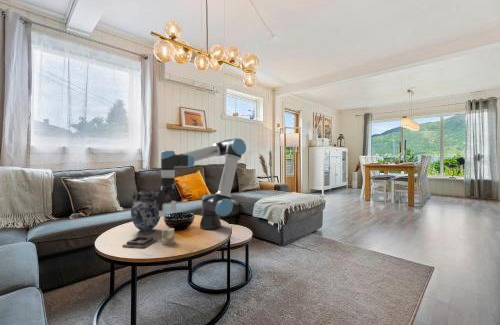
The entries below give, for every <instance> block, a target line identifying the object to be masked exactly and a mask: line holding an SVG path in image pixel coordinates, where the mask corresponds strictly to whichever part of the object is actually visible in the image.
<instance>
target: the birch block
mask: <svg viewBox="0 0 500 325" xmlns="http://www.w3.org/2000/svg"><path fill="white" fill-rule="evenodd" d="M173 243H175V228H173V227H166V228H164V229H161V244H162V245H165V246H167V245H168V246H170V245H172V244H173Z"/></svg>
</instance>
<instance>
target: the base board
mask: <svg viewBox="0 0 500 325" xmlns="http://www.w3.org/2000/svg"><path fill="white" fill-rule="evenodd" d="M157 241H158V239H157V238H154V237H152V236H151V237H150V236H136V237H134V238H132V239H129V240H127V241H126V243H124V244H123V245H122V248H132V249H145V248H147V247H149V246H151V245H152V244H155V243H156V242H157Z"/></svg>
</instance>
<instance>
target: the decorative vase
mask: <svg viewBox="0 0 500 325" xmlns="http://www.w3.org/2000/svg"><path fill="white" fill-rule="evenodd" d="M158 194H159V191H158V192H154V191H153V190H150V189H149V190H140V191H139V192H137V191H135V190H134V191H132V192H131V198H133V200H134V201H133V203H132V206H131V209H130V217H131V220H132V224H133V225H134V226H135V228H137V229H138V231H137V234H138V235H139V234H140V235H147V234H148V235H149V234H153V233H154V232H155V230H154V228H156V226H157V225H158V224H159V221H160V219H161V216H159V205H157V204H156V202H157V198H158Z"/></svg>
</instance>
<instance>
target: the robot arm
mask: <svg viewBox="0 0 500 325" xmlns="http://www.w3.org/2000/svg"><path fill="white" fill-rule="evenodd" d="M246 151H247V144H246V143H245V141H244V140H243V139H242V138H240V137H239V138H237V137H235V138H230V139H224V140H222V141H220V142H215V143H213V144H212V145H210V146H207V147H202V148H198V149H194V150H191V151H190V150H189V151H187V152H182V153H179V154H176V152H175V151H174V150H162V151H161V155H160V164H161V165H160V177H161V178H160V183H161V185H162V186H159V191H158V192H159V194H158V198H157V202H156V204H157V205H159V216H161V217H165V204H164V203H165V200H166V198H167V196H168V195H169V196H170V198H171V201H170V203H171V204H170V206H171V207H170V209H171V212H172V213H176V212H177V201H178V200H179V197H178V196H179V195H178V193H177V189H176V184H175V183H176V181H175V180H176V178H175V177H176V176H175V173H176V171H175V169H176V168H191V167H193V166H194V165H195V162H198V161H202V160H205V159H209V158H212V157H221V156H222V157H223V156H224V157H225V161H224V166H223V169H222V173H221V177H220V182H219V186H218V189H217V192H215V193H214V194H206V195H205V194H204V195H203V196H202V198H201V207H202V208H201V219H200V223H199V228H200V229H203V230H215V229H216V230H217V229H219V228H221V227H222V223H221V218H220V216H221V217H225V216H226V217H227V216H228V215H229V214H231V212H232V211H233V208H234V204H233V201H232V195H231V191H232V188H233V184H234V179H235V175H236V170H237V166H238V163H239V161H240V160H241V159H242V155H244V154H245V153H246ZM161 217H160V218H161Z"/></svg>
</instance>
